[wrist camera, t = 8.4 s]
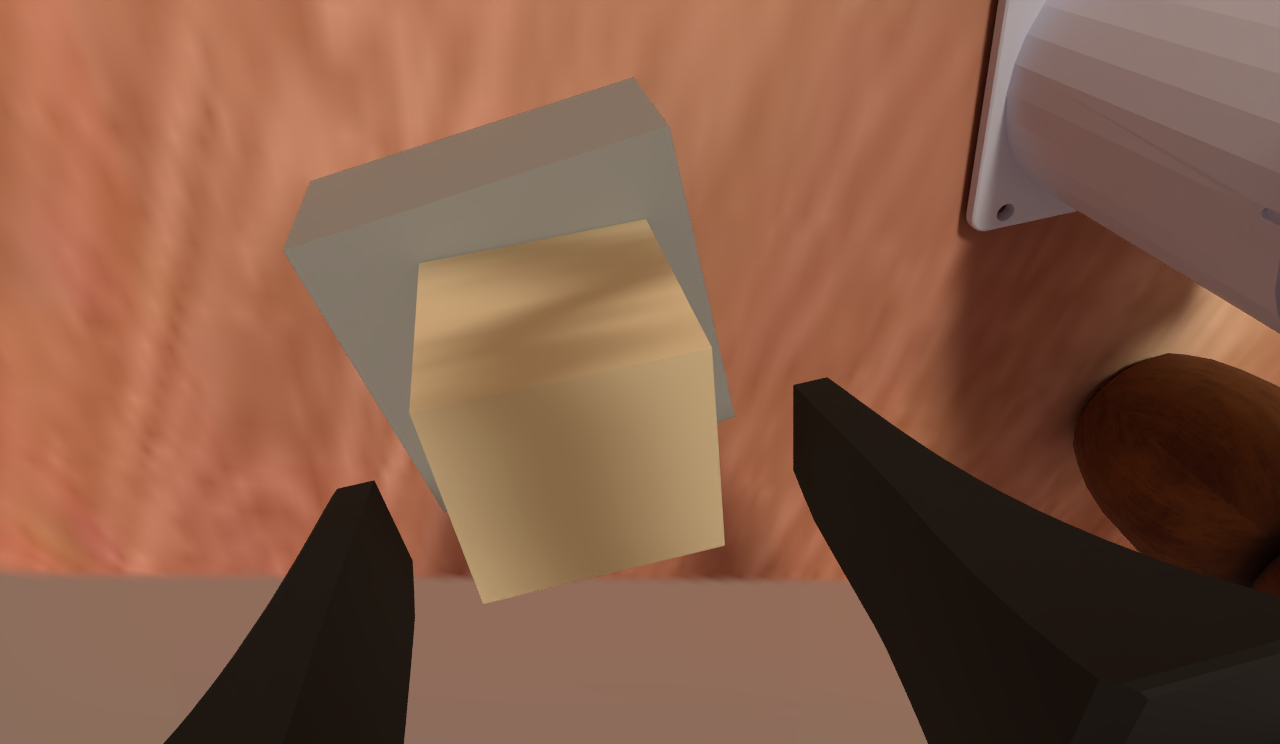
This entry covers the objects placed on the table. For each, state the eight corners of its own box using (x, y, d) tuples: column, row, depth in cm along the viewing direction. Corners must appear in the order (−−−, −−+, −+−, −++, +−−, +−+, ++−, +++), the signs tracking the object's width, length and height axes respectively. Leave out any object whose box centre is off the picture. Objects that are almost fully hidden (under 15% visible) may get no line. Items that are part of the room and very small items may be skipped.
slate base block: (630, 73, 18) (669, 125, 15) (695, 335, 23) (734, 416, 20) (312, 176, 18) (283, 250, 15) (445, 417, 23) (444, 512, 20)
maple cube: (645, 219, 16) (711, 347, 12) (666, 394, 19) (725, 545, 15) (419, 263, 15) (409, 412, 11) (475, 436, 18) (482, 603, 14)
